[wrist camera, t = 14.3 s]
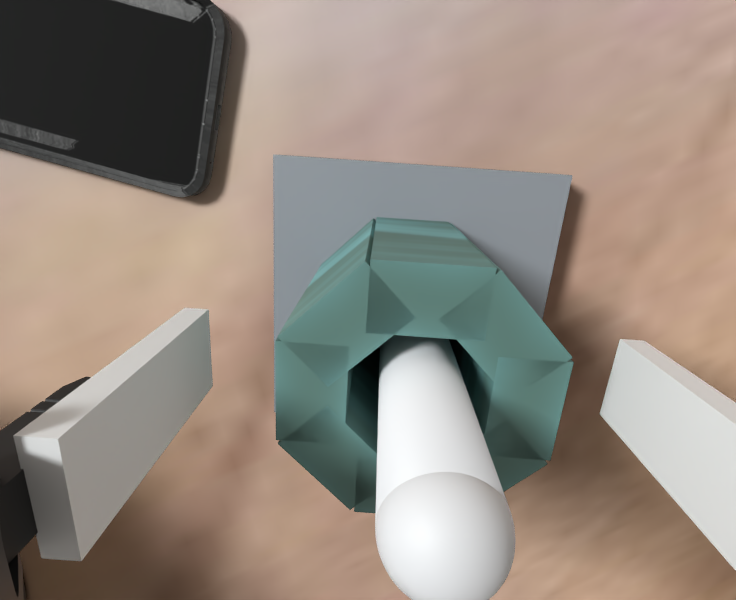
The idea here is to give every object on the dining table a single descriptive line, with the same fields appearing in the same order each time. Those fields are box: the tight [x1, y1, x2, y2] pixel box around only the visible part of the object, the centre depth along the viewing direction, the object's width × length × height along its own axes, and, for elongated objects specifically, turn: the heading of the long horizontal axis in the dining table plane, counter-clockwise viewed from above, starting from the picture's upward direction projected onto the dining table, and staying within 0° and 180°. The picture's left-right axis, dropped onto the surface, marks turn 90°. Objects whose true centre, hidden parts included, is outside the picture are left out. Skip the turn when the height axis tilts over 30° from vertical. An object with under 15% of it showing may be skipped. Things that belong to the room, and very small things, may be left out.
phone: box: [0, 0, 231, 197], centre depth 18 cm, size 8×1×15 cm
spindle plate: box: [273, 155, 572, 600], centre depth 13 cm, size 12×12×15 cm
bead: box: [275, 217, 574, 513], centre depth 15 cm, size 8×8×8 cm
